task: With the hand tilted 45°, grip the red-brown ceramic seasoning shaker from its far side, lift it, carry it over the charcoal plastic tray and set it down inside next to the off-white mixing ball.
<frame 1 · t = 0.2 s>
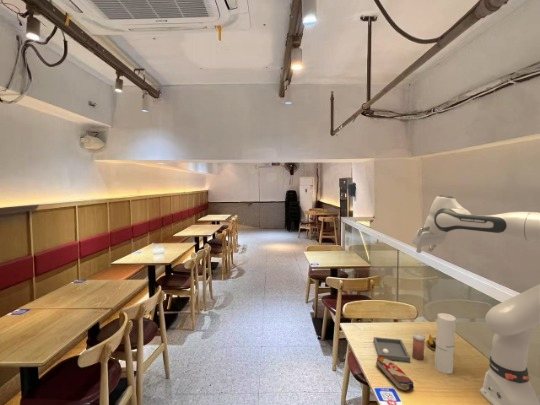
hand: (424, 251, 148), 51 cm above the table, tool tilted 15°, fingers open, 8 cm apart
mixing ball: (385, 351, 147), point 2 cm above the table, touching tray
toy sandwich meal: (440, 348, 154), on the table
pencil case: (393, 378, 131), on the table
tray: (390, 351, 151), on the table
cylindrical container: (443, 369, 137), on the table
shaker: (417, 357, 146), on the table
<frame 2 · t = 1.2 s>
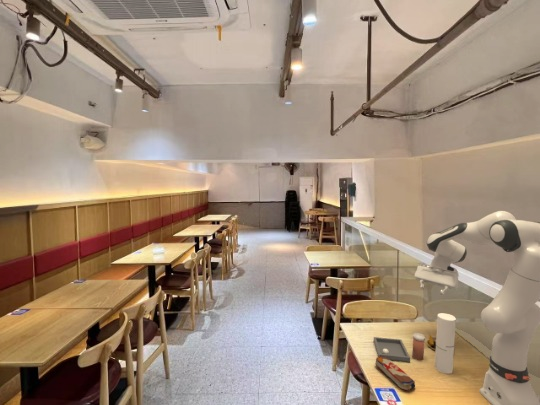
hand: (431, 291, 152), 30 cm above the table, tool tilted 45°, fingers open, 8 cm apart
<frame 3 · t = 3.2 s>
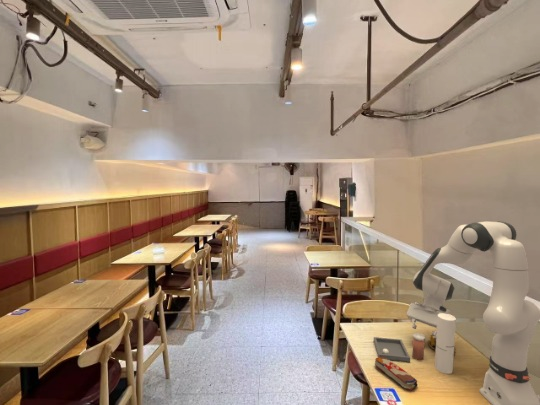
hand: (423, 331, 149), 11 cm above the table, tool tilted 45°, fingers open, 8 cm apart
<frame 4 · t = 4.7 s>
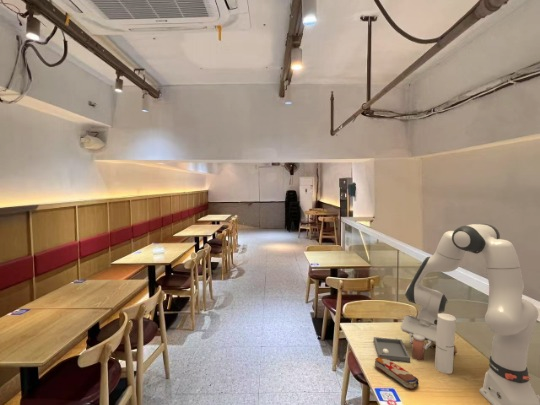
hand: (417, 346, 145), 6 cm above the table, tool tilted 45°, fingers closed on shaker, 5 cm apart
shaker: (417, 357, 146), on the table, touching gripper
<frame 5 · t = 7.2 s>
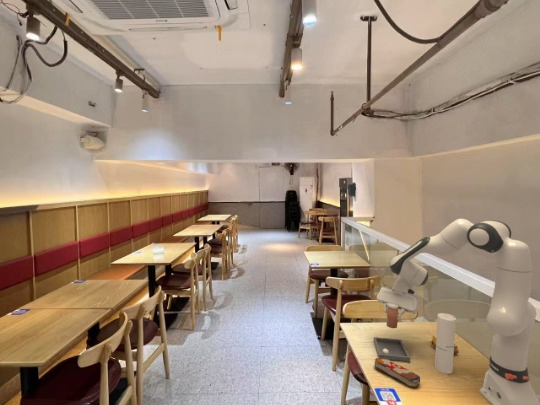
hand: (391, 314, 148), 20 cm above the table, tool tilted 45°, fingers closed on shaker, 5 cm apart
shaker: (391, 325, 149), point 14 cm above the table, touching gripper
when the fingers open (8 cm above the table, at t = 9.7 s): shaker drops 1 cm, resting on tray.
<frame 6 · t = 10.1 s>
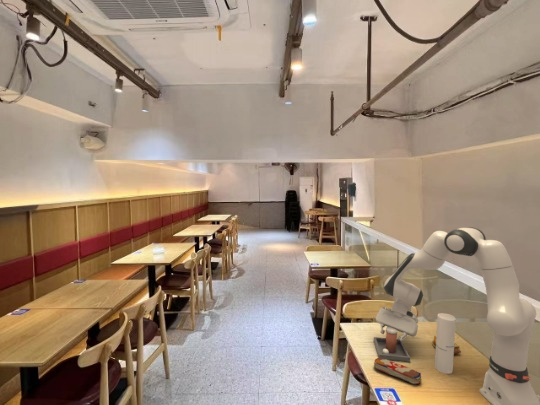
hand: (390, 336, 149), 8 cm above the table, tool tilted 45°, fingers open, 8 cm apart
shaker: (390, 350, 150), point 1 cm above the table, touching tray
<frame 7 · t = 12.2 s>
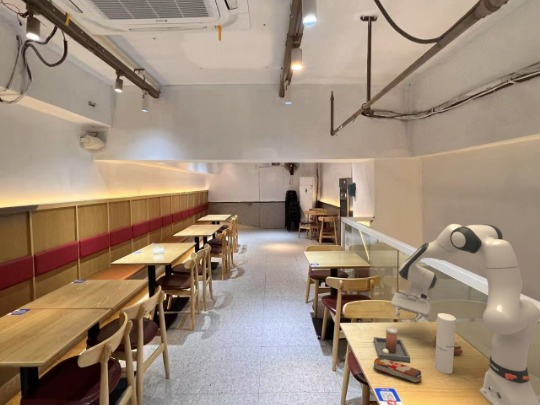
hand: (406, 318, 157), 13 cm above the table, tool tilted 45°, fingers open, 8 cm apart
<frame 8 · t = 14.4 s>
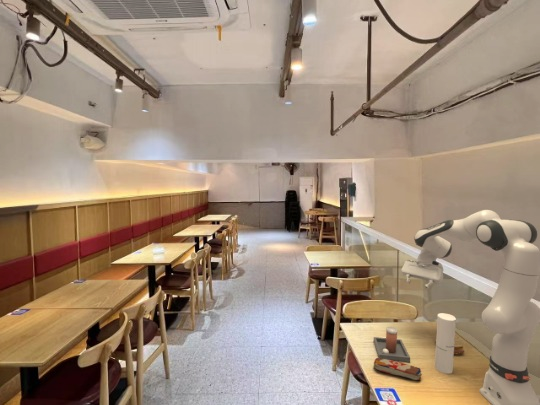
hand: (417, 285, 157), 31 cm above the table, tool tilted 45°, fingers open, 8 cm apart
at the end: shaker inside the target area on the tray (0.1 cm from its centre), point 0.6 cm above the tray's base; shaker tilted 0°; the gripper is holding nothing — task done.
